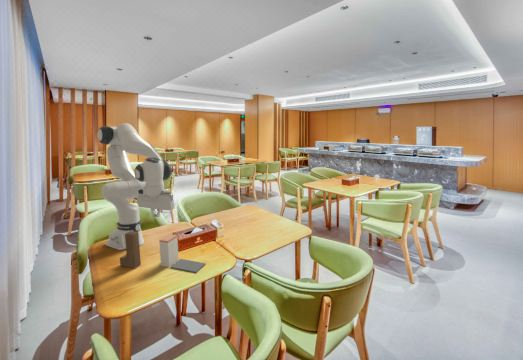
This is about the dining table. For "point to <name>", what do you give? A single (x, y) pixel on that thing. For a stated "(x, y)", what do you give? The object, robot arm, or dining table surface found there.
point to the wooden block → (131, 251)
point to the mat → (188, 265)
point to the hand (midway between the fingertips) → (156, 216)
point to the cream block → (168, 250)
